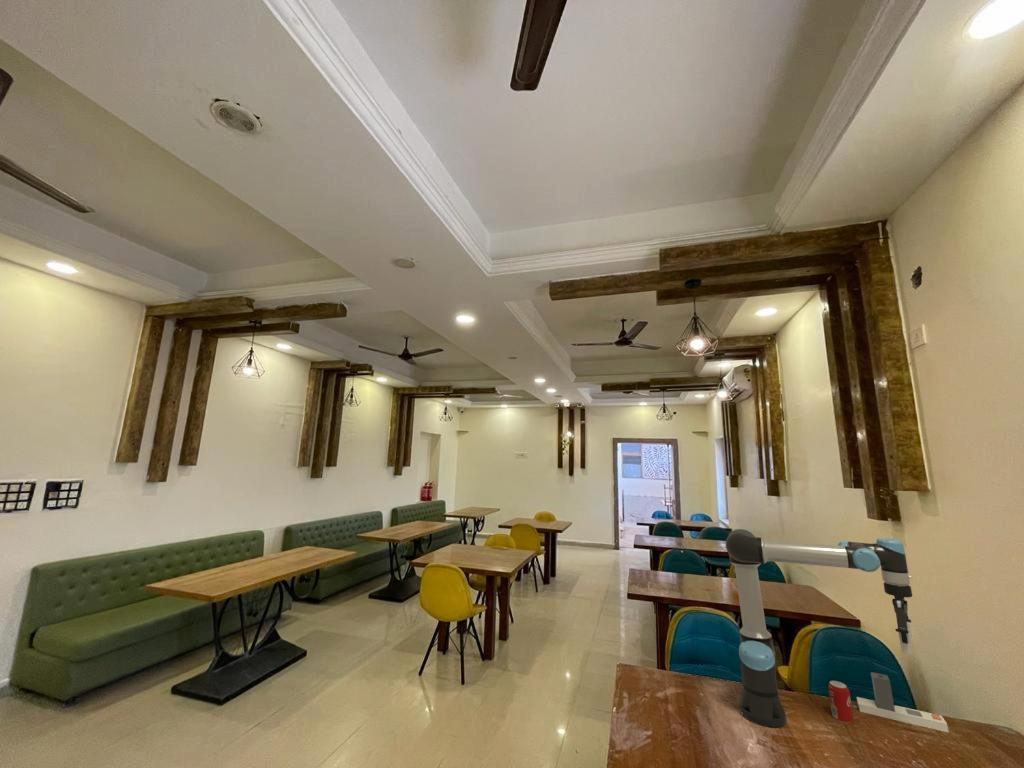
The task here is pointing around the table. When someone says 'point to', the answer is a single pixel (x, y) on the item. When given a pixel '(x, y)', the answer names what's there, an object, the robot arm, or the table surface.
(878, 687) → the charger
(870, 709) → the power strip
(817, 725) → the table surface
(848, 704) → the beverage can
